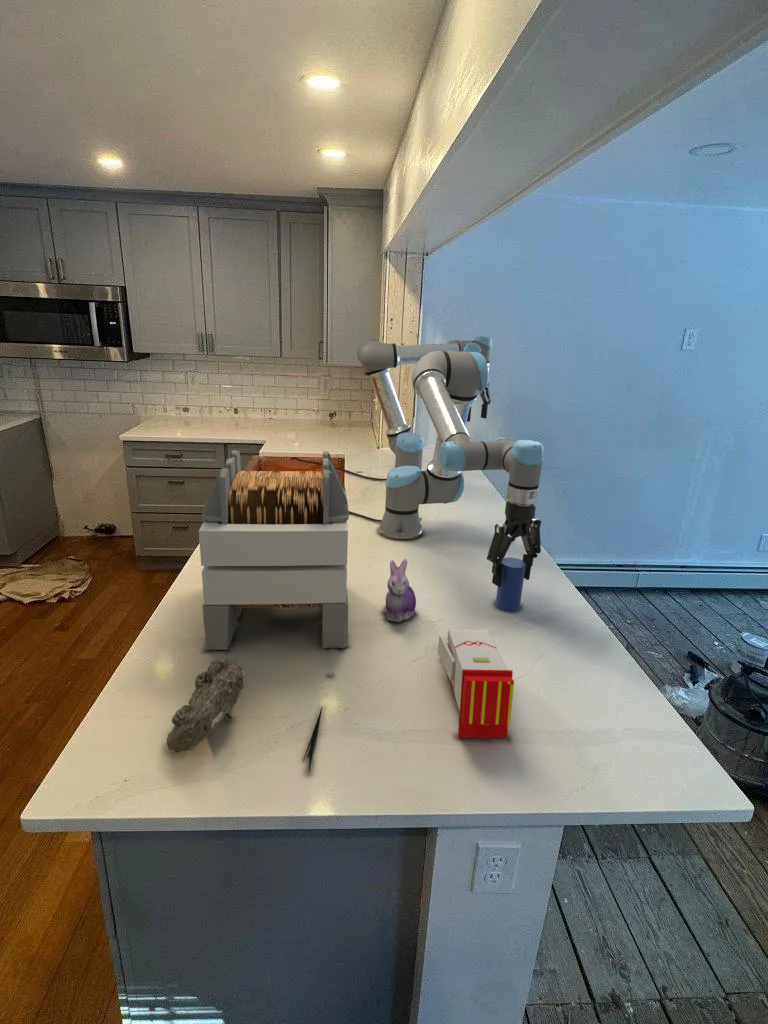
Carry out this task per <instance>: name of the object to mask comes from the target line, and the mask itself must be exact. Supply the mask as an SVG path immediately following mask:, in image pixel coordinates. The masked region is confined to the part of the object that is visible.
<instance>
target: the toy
mask: <svg viewBox="0 0 768 1024" xmlns="http://www.w3.org/2000/svg"><path fill="white" fill-rule="evenodd" d="M446 640H447V643H446V641H445V639H444V636H443V635H442V634H439V637H438V646H437V656H438V657H439V659H440V661H441V663H442V666H443V668H444V670H445V672H446V674H447V677H448V679H449V681H450V684H451V687H452V690H453V693H454V697H455V701H456V705H457V708H458V711H459V714H458V715H459V716H458V730H457V731H458V732H457V737H458V738H508V731H509V726H510V725H511V717H512V707H513V697H514V696H513V695H514V684H515V680H514V679H513V673H514V671H513V670H512V669H508V667H507V665H506V662H505V661H504V659H503V658H502V655H501V653H500V651H499V649H498V647H497V643H496V639H495V637H494V635H493V634H491V632H490V631H489V629H467V628H466V629H465V628H463V629H461V628H460V629H459V628H448V630H447V639H446Z"/></svg>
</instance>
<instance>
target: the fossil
mask: <svg viewBox="0 0 768 1024" xmlns="http://www.w3.org/2000/svg"><path fill="white" fill-rule="evenodd" d="M243 670H244V669H243V667H242V665H240V664H237V662H236V661H235V660H234V659H232V658H231V659H227V658H226V659H224V660H223V661H222V660H217V659H212V660H211V661H210V663H209V665H208V666H207V671H201V672H199V673H198V674H197V675H196V676H195V680H194V684H195V685H194V687H195V689H194V690H193V693H192V694H191V697H190V698H189V700H188V704H184V705H182V706H181V707H180V709H177V710H176V711H175V713H174V715H173V716H172V718H171V723H172V724H173V727H172V730H171V731H170V732H168V734H167V738H166V741H167V742H166V745H167V749H168V750H169V751H173V752H174V753H176V754H178V753H182V752H188V751H189V752H192V751H193V750H195V748H196V747H197V746H199V744H200V743H201V742H203V741H204V740H205V739H206V738H207V737H208V736H209V735H210V734H211V733H212V732H214V730H215V729H217V727H218V726H219V724H220V722H221V721H222V720H223V719H224V718H225V716H226V717H227V719H229V720H233V717H232V715H230V714H229V710H230V709H231V708H234V706H235V704H236V703H237V702H238V699H239V697H240V695H241V693H242V691H243V690H245V689H244V688H245V675H244V671H243Z"/></svg>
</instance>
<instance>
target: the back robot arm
mask: <svg viewBox="0 0 768 1024" xmlns="http://www.w3.org/2000/svg"><path fill="white" fill-rule="evenodd" d="M492 341H493V340H492V337H491V336H481V335H480V336H479V335H476V336H475V337H474V339H473V340H460V339H451V340H448V342H447V343H429V344H410V345H409V344H408V345H398V344H397V343H386V342H380V341H379V340H377V339H371V338H370V339H367V340H365V341H363V342H361V344H360V345H359V346H358V349H357V354H356V355H357V360H358V361H359V364H360V363H361V364H360V365H361V367H362V370H363V372H364V375H365V377H366V378H369V379H370V382H371V385H372V388H373V391H374V393H375V396H376V399H377V402H378V405H379V407H380V411H381V413H382V416H383V418H384V422H385V425H386V427H387V429H386V431H385V434H386V437H387V440H388V446H389V448H390V450H391V452H392V453H393V454H394V455H395V461H394V462H395V463H394V468H396V467H401V466H416V467H419V468H420V469H421V470H422V468H423V467H422V466H423V465H422V464H423V451H424V445H425V444H424V438H423V436H422V435H420V434H418V433H415V432H413V429H412V426H411V424H410V423H409V422H406V419H405V416H404V413H403V410H402V407H401V405H400V401H399V398H398V394H397V392H396V389H395V387H394V383H393V381H392V377H391V375H390V369H396V368H398V367H399V366H404V365H416V364H417V362H418V361H419V360H420V359H421V358H422V357H423V356H424V355H426V354H428V353H430V352H433V351H464V352H467V351H470V352H478V353H480V354H482V355H483V356H484V358H485V360H486V362H487V366H488V373H489V371H490V363H491V362H490V361H491V353H492ZM478 395H479V396H480V398H481V401H482V404H481V413H480V419H487V417H488V409H489V405H491V403H492V397H491V391H490V382H488V384H487V387H486V388H485V389H484V390H482V391H478V394H477V396H478ZM473 402H474V401H472V402H471V404H470V409H469V413H468V418H467V423H470V422H471V417H472V404H473ZM293 460H297V461H298V462H301V463H306V464H307V463H308V464H313V465H319V466H323V462H317V461H312V460H306V459H300V458H299V457H296V456H293V457H291V458H290V461H293ZM335 467H336V469H337V471H338V470H339V471H341V472H344V473H348V474H350V475H353V476H357V477H360V478H362V479H367V480H372V481H382V482H383V481H384V482H385V481H387V477H386V478H381V477H371V476H366V475H363V474H359V473H356V472H353V471H351V470H348V469H345V468H342V467H338V466H335Z"/></svg>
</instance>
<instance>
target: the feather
mask: <svg viewBox="0 0 768 1024" xmlns="http://www.w3.org/2000/svg"><path fill="white" fill-rule="evenodd" d="M329 675H330V676H331V675H332V674H331V673H330V674H329ZM322 710H323V707H321V708H320V710H319V713H318V716H317V719H316V723H315V725H314V728H313V731H312V733H311V737H310V739H309V742H308V745H307V748H306V751H305V754H304V757H303V760H302V763H301V767H302V765H303V763H304V761H305V758H308V759H309V760H308V762H307V763H308V764H307V766H308V771H310V770H311V766H312V765H311V764H312V760H313V757H315V756H314V755H315V751H316V749H315V746H317V739H318V733H319V729H320V722H321V717H322V712H323V711H322ZM313 754H314V755H313ZM306 755H307V757H306Z"/></svg>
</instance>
